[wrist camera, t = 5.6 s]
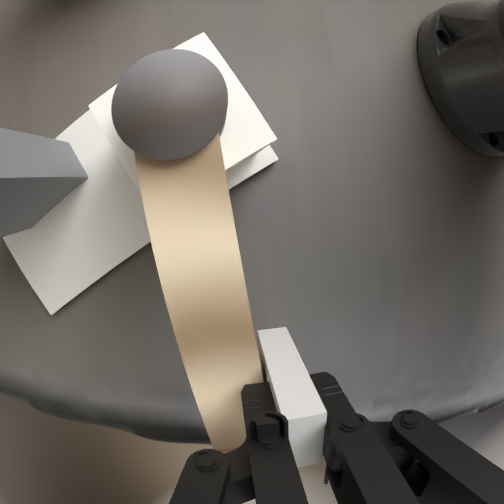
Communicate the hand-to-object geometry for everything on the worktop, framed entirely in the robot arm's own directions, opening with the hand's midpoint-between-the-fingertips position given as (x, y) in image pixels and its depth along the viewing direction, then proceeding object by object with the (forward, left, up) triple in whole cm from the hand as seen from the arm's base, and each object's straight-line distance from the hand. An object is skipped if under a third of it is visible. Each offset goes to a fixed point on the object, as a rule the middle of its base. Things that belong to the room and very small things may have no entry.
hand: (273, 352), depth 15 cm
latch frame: (+4, -13, -8) cm, 15 cm away
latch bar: (+1, -4, +1) cm, 4 cm away
